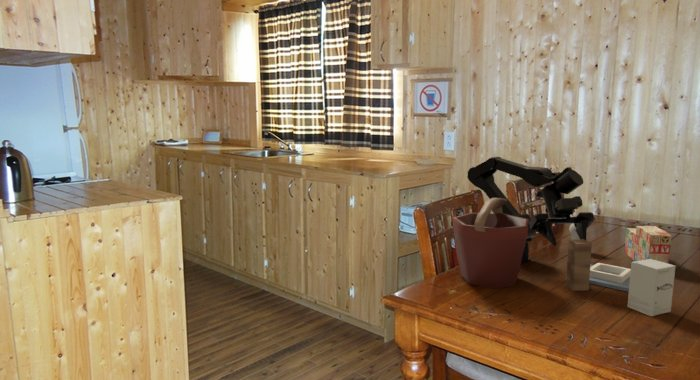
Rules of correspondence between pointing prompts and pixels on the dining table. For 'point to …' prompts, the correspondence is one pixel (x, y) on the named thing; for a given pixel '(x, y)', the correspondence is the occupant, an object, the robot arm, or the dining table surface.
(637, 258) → the stack of blocks
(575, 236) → the lightbulb
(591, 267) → the socket
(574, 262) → the walnut pillar
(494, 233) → the bucket
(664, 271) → the supplement box
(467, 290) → the dining table surface
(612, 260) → the dining table surface
